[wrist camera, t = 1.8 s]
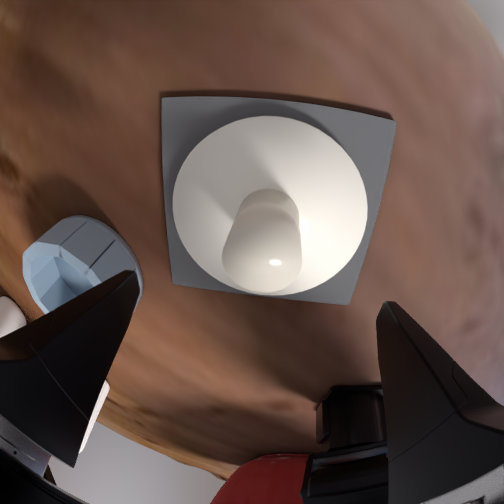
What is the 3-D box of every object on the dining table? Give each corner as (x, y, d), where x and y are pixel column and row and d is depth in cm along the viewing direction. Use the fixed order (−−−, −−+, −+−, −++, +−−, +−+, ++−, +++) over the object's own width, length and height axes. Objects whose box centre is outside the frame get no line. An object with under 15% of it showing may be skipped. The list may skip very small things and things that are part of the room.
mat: (394, 120, 12) (397, 121, 12) (347, 301, 19) (348, 305, 18) (164, 97, 13) (161, 97, 12) (174, 280, 19) (172, 284, 19)
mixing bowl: (205, 465, 48) (193, 523, 35) (225, 426, 32) (205, 528, 19) (325, 478, 48) (323, 532, 36) (399, 439, 33) (406, 520, 20)
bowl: (134, 218, 17) (102, 251, 14) (153, 319, 22) (135, 356, 18) (41, 211, 17) (9, 236, 14) (70, 299, 22) (48, 328, 19)
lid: (380, 132, 12) (420, 153, 8) (341, 294, 18) (350, 352, 14) (175, 112, 13) (128, 125, 9) (183, 276, 18) (158, 329, 14)
